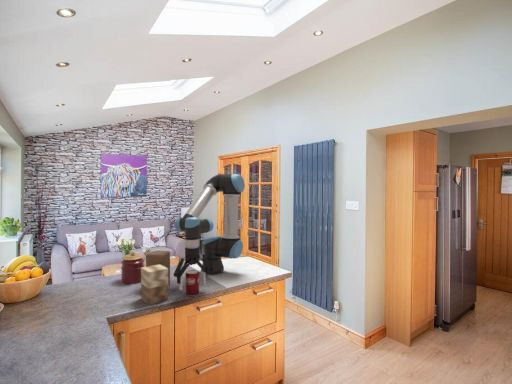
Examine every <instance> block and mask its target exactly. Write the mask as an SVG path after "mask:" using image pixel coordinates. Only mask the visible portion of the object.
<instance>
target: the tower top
mask: <svg viewBox="0 0 512 384" xmlns="http://www.w3.org/2000/svg"><path fill="white" fill-rule="evenodd" d="M141 284H143V285H144V286H146V287H147V288H148V289H149V288H154V287H158V286H162V285H167V284H168V268H166V267H164V266H162V265H161V264H159V265H153V266H148V267H146V266H144V267H142V268H141V282H140V285H141Z"/></svg>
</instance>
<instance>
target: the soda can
mask: <svg viewBox="0 0 512 384" xmlns="http://www.w3.org/2000/svg"><path fill="white" fill-rule="evenodd" d="M184 273H185V275H184V276H185V277H184V278H185V280H184V281H185V287H184V288H185V295H186V296H187V297H195V296H198V295H199V294H200V271H199V270H197V269H189V270H187V271H185V272H184Z"/></svg>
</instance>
